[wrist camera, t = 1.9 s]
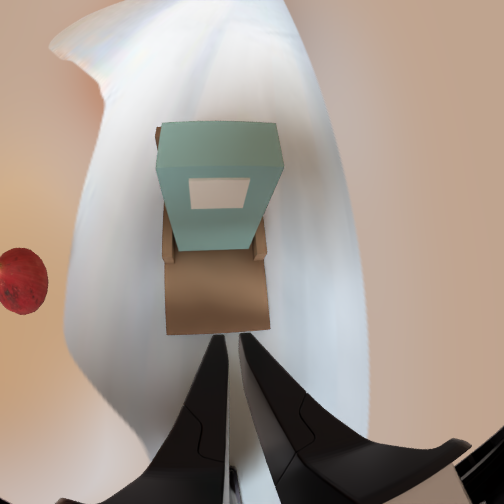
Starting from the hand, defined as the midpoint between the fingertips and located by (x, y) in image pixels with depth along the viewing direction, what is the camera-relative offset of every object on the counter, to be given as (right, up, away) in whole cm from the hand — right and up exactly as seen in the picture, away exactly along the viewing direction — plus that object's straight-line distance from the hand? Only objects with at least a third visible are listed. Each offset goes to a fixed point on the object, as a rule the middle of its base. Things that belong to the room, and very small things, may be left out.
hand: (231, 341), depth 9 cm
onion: (-20, -1, +11) cm, 23 cm away
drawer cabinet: (-3, +3, +15) cm, 16 cm away
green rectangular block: (-3, +5, +14) cm, 15 cm away
